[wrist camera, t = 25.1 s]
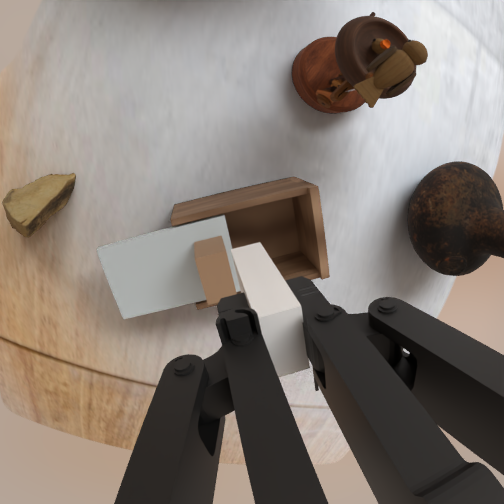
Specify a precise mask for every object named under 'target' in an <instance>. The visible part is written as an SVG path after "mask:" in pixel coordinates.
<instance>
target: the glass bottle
mask: <svg viewBox="0 0 504 504" xmlns="http://www.w3.org/2000/svg"><path fill="white" fill-rule="evenodd" d="M408 229H409V234H410V238H411V242H412V244H413V247H414V249H415V251H416V252H417V254H418V255H419V257H420V258H421V259H422V260H423V262H424V263H426V264H427V265H428V266H429V267H430V268H432V269H433V270H435V271H437V272H439V273H442V274H445V275H453V276H460V275H465V274H469V273H471V272H473V271H474V270H476V269H477V268H479V267H480V266H482V265H483V264H484V263H485V262H486V261H487V259H488V258H489V257H490V256H491V255H495V256H499V257H502V258H504V210H503V204H502V200H501V196H500V193H499V191H498V189H497V186H496V184H495V183H494V181H493V180H492V179H491V177H490V176H489V175H488V174H487V173H486V172H485V171H483V170H482V169H481V168H479V167H477V166H475V165H473V164H470V163H466V162H450V163H446V164H443V165H441V166H439V167H437V168H435V169H434V170H432V171H431V172H429V173H428V174H427V175H426V176H425V177H424V178H423V179H422V180H421V182H420V183H419V184H418V186H417V187H416V189H415V191H414V193H413V196H412V198H411V201H410V205H409V211H408Z"/></svg>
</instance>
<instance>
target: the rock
mask: <svg viewBox="0 0 504 504" xmlns="http://www.w3.org/2000/svg"><path fill="white" fill-rule="evenodd" d="M75 177H76V175H75V174H74V173H72V174H70V175H58V174H55V175H53V174H50V175H47V176H45V177H41V178H40V179H38V180H35V182H33V183H31V184H28V185H26V186H24V187H23V188H22V189H12V190H11V191H9V193H8V194H7V195H6V198H4V200H3V202H2V203H3V206H4V209H5V211H6V216H7V219H8V220H9V222H10V224H11V226H12V228H15V229H16V230H17V231H18V232H19V233H20V234H22V235H23V236H24V237H30V236H31V235H32V234H33V233H35V232H36V231H37V230H38V229H40V228H41V227H42V226H43V225H44V223H45V222H46V221H47V220H48V219H49V217H50V216H51V215H53V214H55V213H56V212H57V211H59V210H60V209H61V208H62V207H64V206H65V205H66V204H67V202H68V200H69V198H70V196H71V193H72V191H73V189H74V184H75Z"/></svg>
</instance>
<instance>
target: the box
mask: <svg viewBox="0 0 504 504" xmlns="http://www.w3.org/2000/svg"><path fill="white" fill-rule="evenodd" d="M220 214H224V215H225V220H226V224H227V228H228V232H229V237H230V241H231V245H232V249H235V248H239V247H242V246H246V245H250V244H254V243H258V242H260V243H261V244H262V246H263V247H264V249H265V251H266V252H267V254H268V255H269V257H270V258H271V260H272V261H273V263H274V264H275V266H276V267H277V269H278V271H279V272H280V274H281V275H282V277H283V278H284V280H289V279H292V278H296V277H300V276H303V277H305V278H308V279H310V280H312V279H316V278H319V277H320V278H321V279H325V278H328V277H330V276H329V267H328V258H327V249H326V240H325V232H324V225H323V217H322V210H321V202H320V195H319V189H318V186H316V185H314V184H311V183H309V182H306V181H304V180H301V179H299V178H296V177H290V178H285V179H280V180H276V181H271V182H266V183H262V184H257V185H253V186H248V187H244V188H240V189H235V190H231V191H227V192H223V193H219V194H214V195H210V196H206V197H202V198H198V199H194V200H190V201H186V202H183V203H179V204H175V205H174V208H173V212H172V216H171V219H170V220H171V224H172V226H177V225H181V224H184V223H188V222H192V221H196V220H200V219H204V218H208V217H212V216H216V215H220ZM236 293H237V294H239V293H241V291H239V292H236ZM218 303H219V302H218ZM218 303H214V304H210V305H208V303H207V300H203V301H199V302H196V307H197V310H199V309H203V308H207V307H211V306H215V305H218Z"/></svg>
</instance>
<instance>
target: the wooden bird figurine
mask: <svg viewBox="0 0 504 504" xmlns="http://www.w3.org/2000/svg"><path fill="white" fill-rule="evenodd" d="M374 16H375V13H374V12H372V13H371V14H370V16H362V17H358V18H355V19H353V20H351V21H349V22H348V23H346V24H345V25H344V26H343V27H342V29H341V30H340V31H339V33H338V35H337V37H324V38H320V39H317V40H315V41H313V42H312V43H310V44H309V45H308V46H306V47H305V48H304V49H302V50H301V51H300V52H299V53H298V55H297V56H296V58H295V60H294V63H293V67H292V78H293V83H294V86H295V88H296V90H297V92H298V94H299V95H300V97H301V98H302V99H303V100H304V101H305V102H306V103H307V104H308V105H309V106H311V107H312V108H314V109H316V110H318V111H321V112H325V113H340V112H348V111H352V110H355V109H357V108H358V107H360V106H361V105H363V104H364V103H365V102H366V103H368V106H369V107H370V108H373V107H374V105H375V104H376V102H377V100H378V98H382V99H385V98H392V97H395V96H398V95H400V94H402V93H403V92H404V91H406V90H407V89H408V88H409V86H410V85H411V83H412V82H413V79H414V77H415V76H416V65H421V64H423V63H425V62H426V60H427V56H428V53H427V50H426V48H425V46H424V45H423V44H422V43H420V42H418V41H414V40H412V41H411V40H408V38H407V37H406V36H405V34H404V33H403V32H402V31H401V30H400V29H399V28H398V27H397V26H395V25H394V24H392V23H391V22H389V21H387V20H385V19H382V18H379V17H374Z"/></svg>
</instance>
